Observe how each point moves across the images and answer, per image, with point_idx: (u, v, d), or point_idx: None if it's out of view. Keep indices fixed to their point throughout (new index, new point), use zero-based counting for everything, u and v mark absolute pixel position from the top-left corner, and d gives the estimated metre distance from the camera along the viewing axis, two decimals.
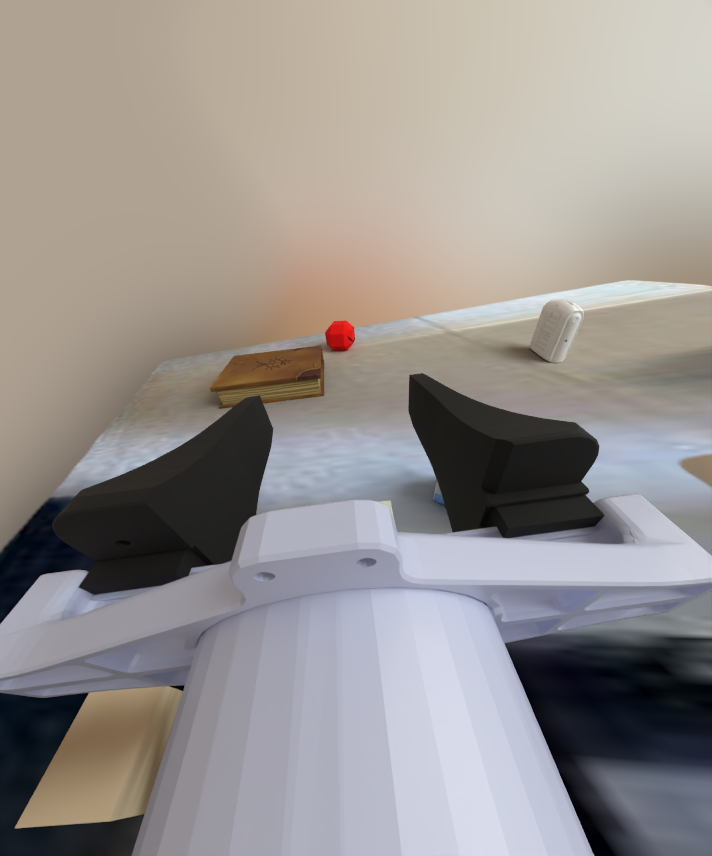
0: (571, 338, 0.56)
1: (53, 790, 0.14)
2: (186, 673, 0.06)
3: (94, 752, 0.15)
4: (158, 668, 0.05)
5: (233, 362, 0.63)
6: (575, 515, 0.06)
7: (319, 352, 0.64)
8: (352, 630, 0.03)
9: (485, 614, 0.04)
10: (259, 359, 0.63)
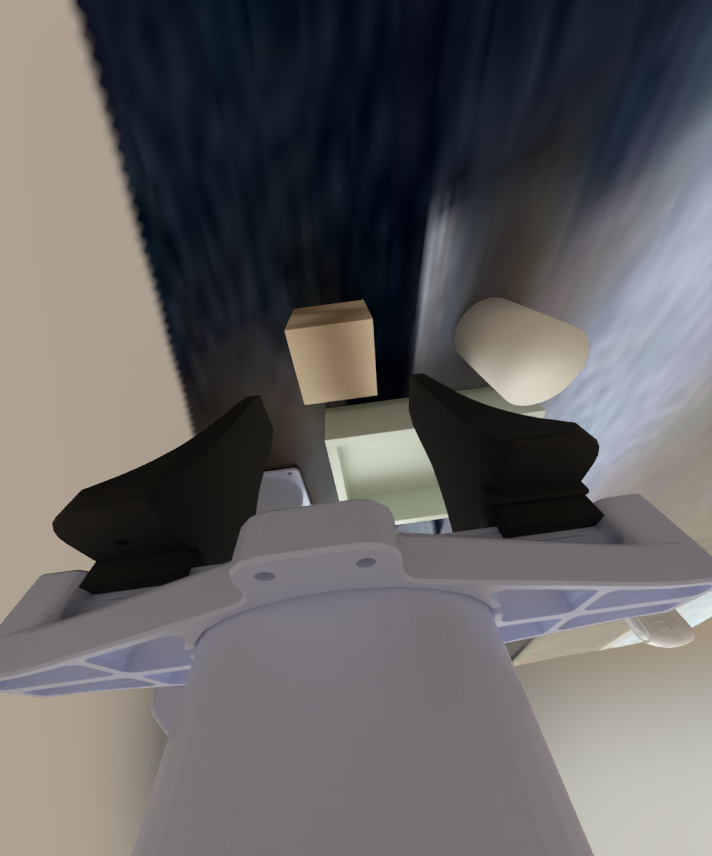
0: None
1: (307, 346, 0.15)
2: (186, 674, 0.06)
3: (332, 364, 0.16)
4: (158, 668, 0.05)
5: None
6: (575, 515, 0.06)
7: None
8: (352, 630, 0.03)
9: (485, 614, 0.04)
10: None
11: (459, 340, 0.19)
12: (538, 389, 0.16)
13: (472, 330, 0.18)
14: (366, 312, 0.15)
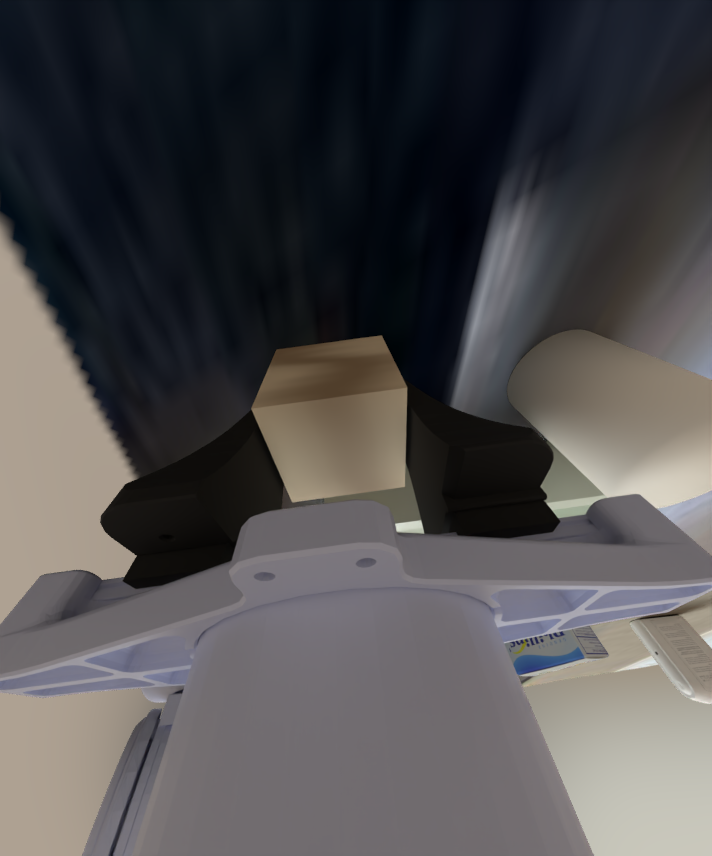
0: (655, 656, 0.50)
1: (293, 429, 0.09)
2: (186, 674, 0.06)
3: (335, 452, 0.10)
4: (158, 668, 0.05)
5: None
6: (532, 521, 0.06)
7: None
8: (352, 630, 0.03)
9: (485, 614, 0.04)
10: None
11: (519, 391, 0.13)
12: (673, 491, 0.10)
13: (547, 383, 0.12)
14: (392, 368, 0.09)
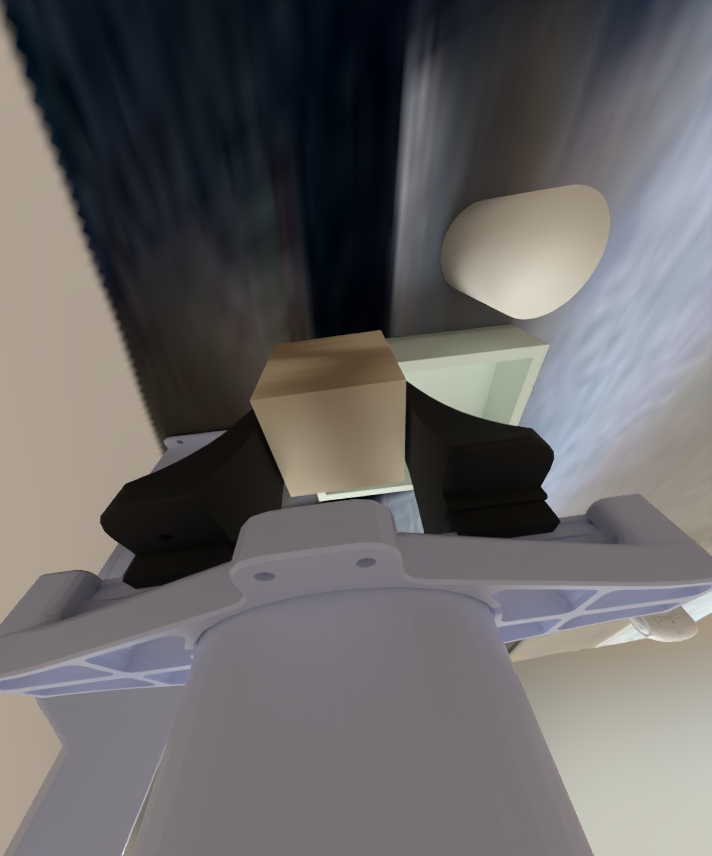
0: None
1: (292, 422, 0.09)
2: (186, 673, 0.06)
3: (334, 445, 0.10)
4: (158, 668, 0.05)
5: None
6: (532, 521, 0.06)
7: None
8: (352, 630, 0.03)
9: (485, 614, 0.04)
10: None
11: (446, 255, 0.16)
12: (541, 293, 0.12)
13: (460, 233, 0.14)
14: (391, 361, 0.09)
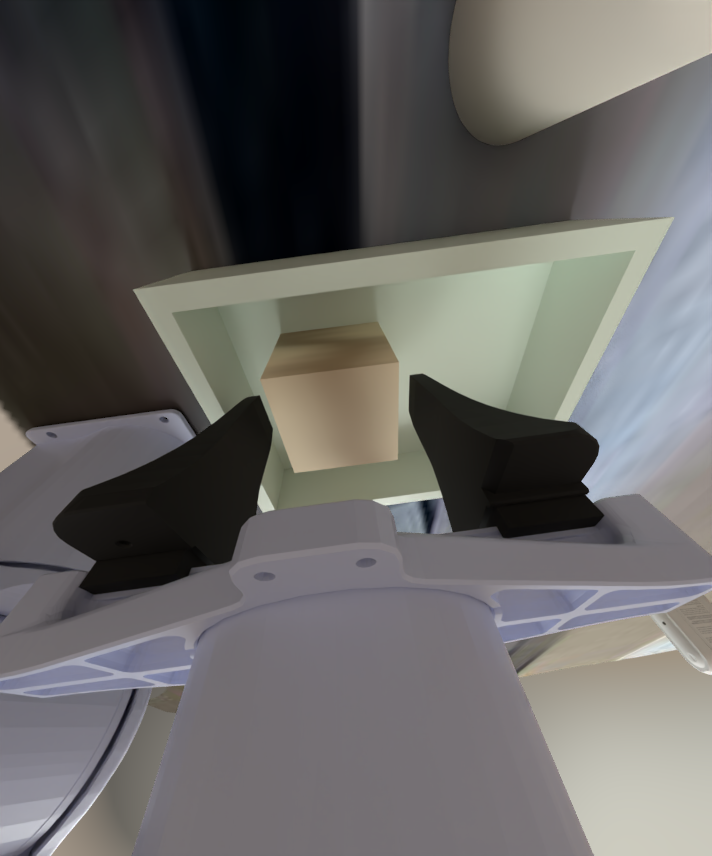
0: (662, 627, 0.44)
1: (297, 400, 0.10)
2: (186, 674, 0.06)
3: (334, 423, 0.11)
4: (158, 668, 0.05)
5: None
6: (575, 515, 0.06)
7: None
8: (352, 630, 0.03)
9: (485, 614, 0.04)
10: None
11: (462, 25, 0.08)
12: None
13: None
14: (386, 347, 0.10)
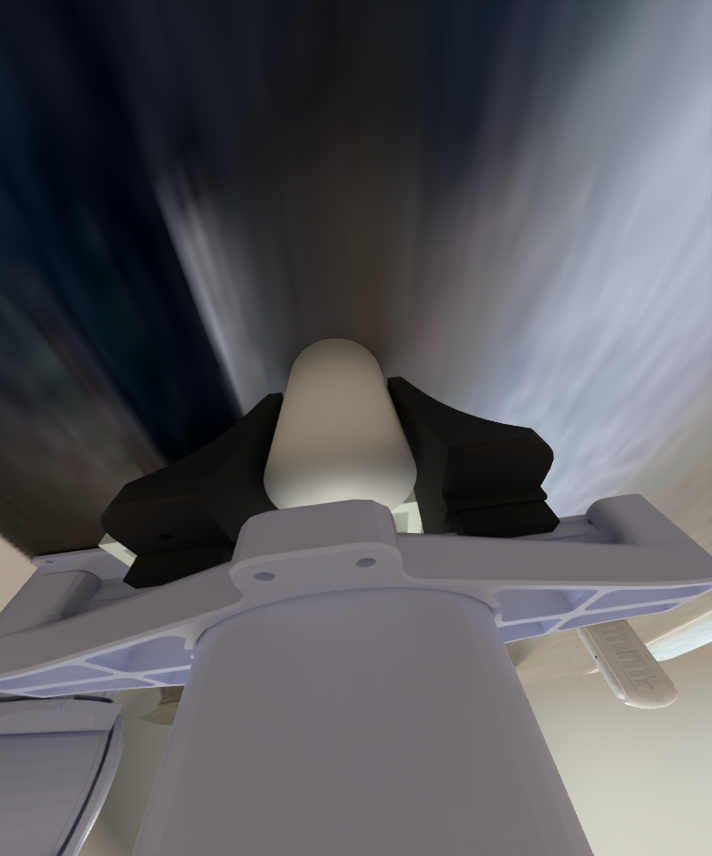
0: (595, 660, 0.50)
1: None
2: (186, 673, 0.06)
3: None
4: (158, 668, 0.05)
5: None
6: (532, 521, 0.06)
7: None
8: (352, 630, 0.03)
9: (485, 614, 0.04)
10: None
11: None
12: None
13: None
14: None
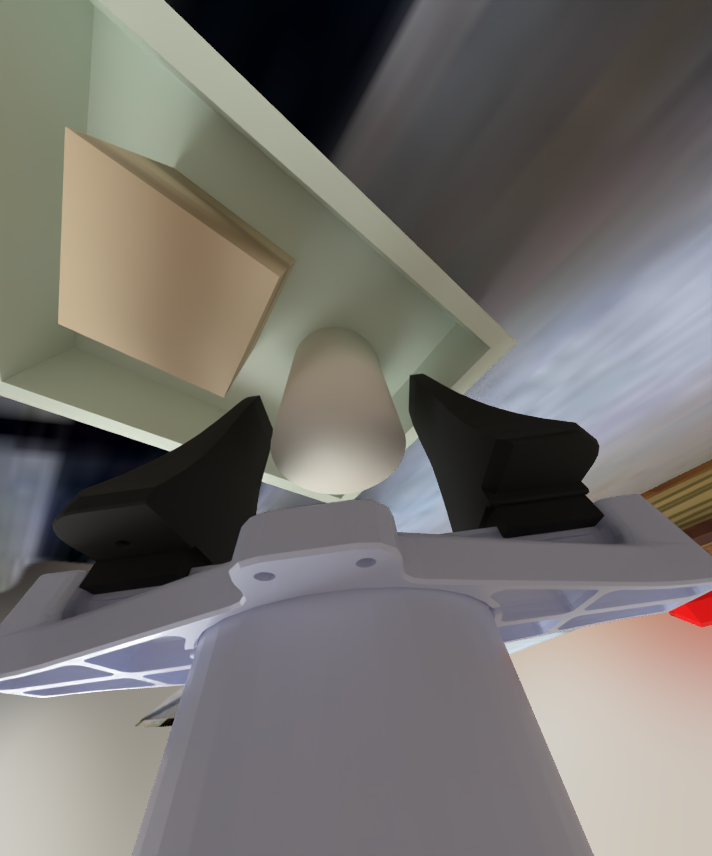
0: None
1: (118, 215, 0.07)
2: (186, 674, 0.06)
3: (161, 293, 0.08)
4: (158, 668, 0.05)
5: None
6: (575, 515, 0.06)
7: None
8: (352, 630, 0.03)
9: (485, 614, 0.04)
10: None
11: None
12: (347, 476, 0.10)
13: None
14: (281, 266, 0.09)
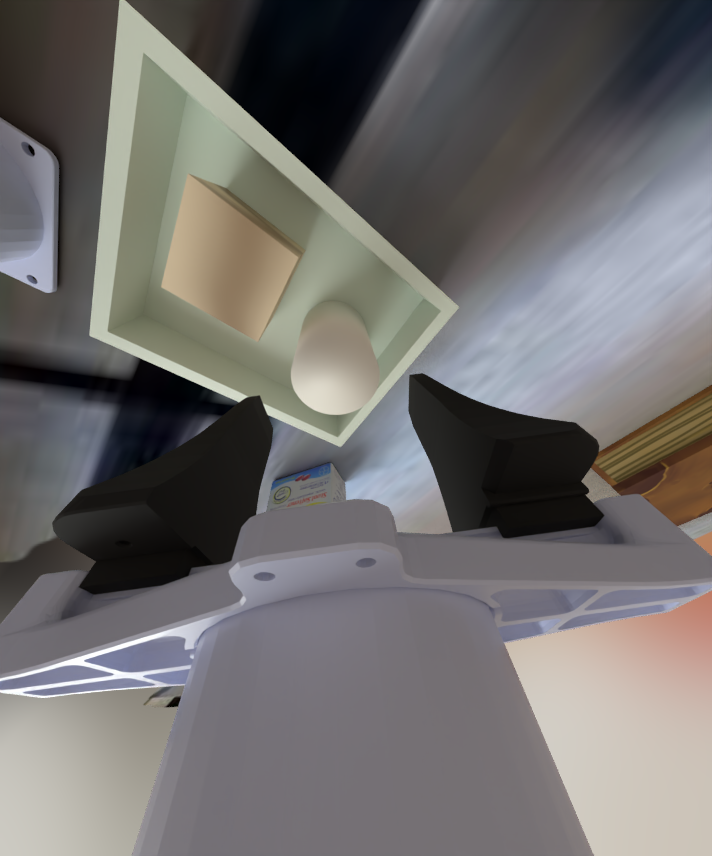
0: None
1: (208, 220, 0.11)
2: (186, 673, 0.06)
3: (226, 267, 0.12)
4: (158, 668, 0.05)
5: None
6: (575, 515, 0.06)
7: None
8: (352, 630, 0.03)
9: (485, 614, 0.04)
10: None
11: None
12: (341, 399, 0.15)
13: None
14: (298, 252, 0.14)
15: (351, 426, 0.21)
